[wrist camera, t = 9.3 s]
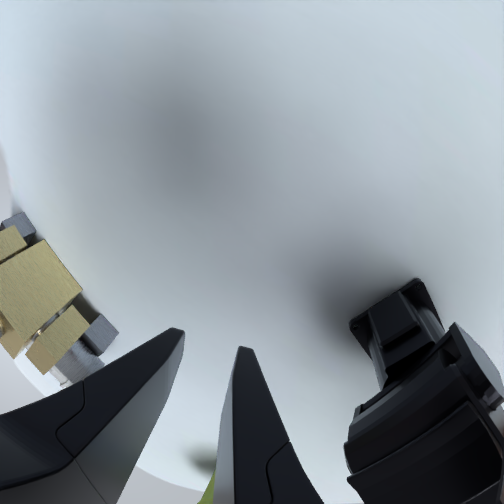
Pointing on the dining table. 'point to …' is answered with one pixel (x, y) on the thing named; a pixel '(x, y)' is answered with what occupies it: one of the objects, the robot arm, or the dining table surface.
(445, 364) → the robot arm
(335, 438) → the dining table surface
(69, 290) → the valve
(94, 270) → the dining table surface
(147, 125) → the dining table surface
